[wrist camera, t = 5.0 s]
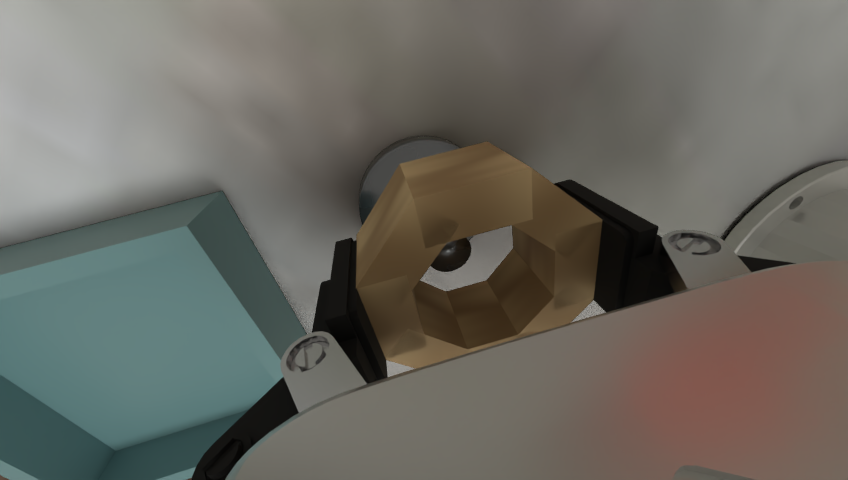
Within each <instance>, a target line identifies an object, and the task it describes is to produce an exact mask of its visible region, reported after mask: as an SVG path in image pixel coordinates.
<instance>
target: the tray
mask: <svg viewBox="0 0 848 480" xmlns="http://www.w3.org/2000/svg"><path fill="white" fill-rule="evenodd" d="M305 335H306V332H305V330H304V329H303V327H302V325H301V324H300V322H299V320H298V319H297V317H296V315H295V313H294V312H293V310H292V308H291V307H290V305H289V303H288V302H287V300H286V298H285V296H284V295H283V293H282V291H281V290H280V288H279V286H278V285H277V283H276V281H275V280H274V278H273V276H272V274H271V273H270V271H269V269H268V268H267V266H266V264H265V263H264V261H263V259H262V258H261V256H260V254H259V252H258V251H257V249H256V247H255V246H254V244H253V242H252V241H251V239H250V237H249V235H248V234H247V232H246V230H245V229H244V227H243V225H242V224H241V222H240V220H239V219H238V217H237V215H236V213H235V212H234V210H233V208H232V207H231V205H230V203H229V202H228V200H227V198H226V196H225V195H224V193H223V191H220V192H216V193H212V194H208V195H204V196H200V197H197V198H193V199H189V200H185V201H181V202H177V203H173V204H170V205H166V206H162V207H158V208H154V209H150V210H146V211H143V212H139V213H135V214H131V215H127V216H123V217H119V218H116V219H112V220H108V221H104V222H100V223H96V224H92V225H89V226H85V227H81V228H77V229H73V230H69V231H65V232H62V233H58V234H54V235H50V236H46V237H42V238H38V239H35V240H31V241H27V242H23V243H19V244H15V245H11V246H8V247H4V248H0V475H1V476H3V477H5V478H8V479H9V480H186V479H189V478H192V475H193V473H194V471H195V468H196V466H197V464H198V462H199V461H200V459H201V458H202V456H203V455H204V453H205V452H206V451H207V450H208V449H209V448H210V447H211V446H212V444H213V443H214V442H215V441H216V440H218V439H219V438H220V437H221V436H222V435H223V434H224V433H225V432H226V431H227V430H228V429H229V428H230V427H231V426H232V425H233V424H234V423H235V422H236V421H237V420H238V419H240V418H241V417H242V416H243V415H244V414H245V413H246V412H247V411H248V410H249V409H250V408H251V407H252V406H253V405H254V404H255V403H256V402H257V401H258V400H259V399H260V398H262V397H263V396H264V395H265V394H266V393H267V392H268V391H269V390H270V389H271V388H272V387H273V386H274V385H275V384H276V383H277V382H278V381H279V380H280V379H281V378H282V377H283V374H282V372H281V367H280V363H281V359H282V356H283V355H284V353H285V351H286V350H287V349H288V348H289V347H290V345H291V344H292V343H294V342H295V341H296V340H298V339H299V338H301V337H303V336H305Z"/></svg>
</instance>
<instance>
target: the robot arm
mask: <svg viewBox="0 0 848 480" xmlns="http://www.w3.org/2000/svg"><path fill="white" fill-rule="evenodd" d="M554 185H556V186H557V187H558V188H560V189H561V190H563V191H564V192H565V193H567V194H568V195H569V196H571V197H572V198H573V199H575V200H576V201H578V202H579V203H580V204H582V205H583V206H584V207H586V208H587V209H589V210H590V211H591V212H593V213H594V214H595V215H597V216H598V217H599V218H601V219H602V228H601V237H600V246H599V255H598V264H597V273H596V281H595V290H594V299H593V300H594V301H595V302H596V303H597V304H598V305H599V306H600V307H601V308H602V309H603V310H604V311H605V312H606V313H603V314H599V315H596V316H593V317H589V318H586V319H582V320H579V321H575V322H572V323H568V324H565V325H562V326H558V327H555V328H551V329H548V330H544V331H541V332H538V333H534V334H531V335H527V336H524V337H521V338H517V339H514V340H510V341H507V342H504V343H500V344H497V345H494V346H490V347H487V348H483V349H480V350H477V351H473V352H470V353H467V354H463V355H460V356H457V357H453V358H450V359H447V360H443V361H440V362H436V363H433V364H430V365H426V366H423V367H420V368H417V369H413V370H410V371H407V372H403V373H400V374H397V375H394V376H390V377H387V365H386V358H385V356H384V353H383V351H382V349H381V346H380V344H379V341H378V339H377V337H376V334H375V332H374V329H373V327H372V324H371V322H370V320H369V317H368V315H367V312H366V310H365V307H364V305H363V303H362V300H361V298H360V295H359V293H358V290H357V288H356V257H357V241H353V239H352V238H349V239H345V240H341V241H338V242H336V244H335V251H334V258H333V265H332V272H331V279H330V280H328V281H324V282H322V283H321V286H320V291H319V296H318V302H317V307H316V313H315V318H314V324H313V329H312V333H309V334H306V335H305V336H303V337H301V338H299V339H298V340H296V341H295V342H294V343H292V344H291V345H290V347H289V348H288V349H287V350H286V351H285V353H284V355H283V356H282V359H281V363H280V367H281V372H282V374H283V377H282V378H281V379H280V380H279V381H278V382H277V383H276V384H275V385H274V386H273V387H272V388H271V389H270V390H269V391H268V392H267V393H266V394H265V395H264V396H263V397H262V398H260V399H259V400H258V401H257V402H256V403H255V404H254V405H253V406H252V407H251V408H250V409H249V410H248V411H247V412H246V413H245V414H244V415H243V416H242V417H241V418H240V419H238V420H237V421H236V422H235V423H234V424H233V425H232V426H231V427H230V428H229V429H228V430H227V431H226V432H225V433H224V434H223V435H222V436H221V437H220V438H219V439H218V440H216V441H215V442H214V443H213V444H212V446H211V447H210V448H209V449H208V450H207V451H206V452H205V453H204V455H203V456H202V458H201V459H200V461H199V462H198V464H197V466H196V468H195V471H194V473H193V475H192V480H848V160H845V161H836V162H832V163H829V164H825V165H822V166H819V167H816V168H814V169H812V170H810V171H807V172H805V173H803V174H801V175H799V176H797V177H795V178H794V179H792V180H790V181H789V182H787V183H785V184H784V185H782V186H780V187H779V188H778V189H776V190H775V191H774V192H772V193H771V194H770V195H768V196H767V197H766V198H764V199H763V200H762V201H761V202H760V203H759V204H757V205H756V206H755V207H754V208H753V209H752V210H751V211H750V212H749V213H747V214H746V215H745V216H744V218H743V219H742V220H741V221H740V222H739V223H738V224H737V225H736V226H735V227H734V228H733V229H732V231H731V232H730V233H729V235H728V236H727V237H726V239H725V240H724V241H723V240H722V239H721V238H719V237H717V236H715V235H712V234H709V233H706V232H701V231H695V230H676V231H672V232H668V233H667V234H665V235H663V237H660V236H659V235H657V231H658V226H656V225H654V224H652V223H650V222H648V221H647V220H645V219H643V218H641V217H639V216H637V215H636V214H634V213H632V212H630V211H628V210H626V209H624V208H623V207H621V206H619V205H617V204H615V203H613V202H612V201H610V200H608V199H606V198H604V197H602V196H600V195H599V194H597V193H595V192H593V191H591V190H589V189H588V188H586V187H584V186H582V185H580V184H578V183H577V182H575V181H573V180H566V181H562V182H558V183H555V184H554Z"/></svg>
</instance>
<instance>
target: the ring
mask: <svg viewBox="0 0 848 480" xmlns="http://www.w3.org/2000/svg"><path fill="white" fill-rule="evenodd" d="M510 225H512V235H513V249H512V250H511V251H510V253H509V254H508V255H507V256H506V258H505V259H504V260H503V261H502V262H501V264H500V265H499V266H498V267H497V268H496V270H495V271H494V272H493V273H492V274H491V276H490V277H489V278H488V279H487V280H486V281H483V282H479V283H475V284H472V285H468V286H465V287H461V288H458V289H454V290H450V291H447V292H446V291H443V290H441V289H439V288H436V287H434V286H432V285H429V284H427V283H424V282H422V281H420V279H421V278H422V276H423V275H424V274H425V272H426V271H427V269H428V268H429V267H430V265H431V264H432V263H433V261H434V260H435V258H436V257H437V256H438V254H439V253H440V252H441V250H442V249H443V248H444V246H445V245H446V243H447V242H451V241H455V240H458V239H462V238H466V237H469V236H473V235H477V234H480V233H484V232H488V231H491V230H495V229H499V228H503V227H506V226H510ZM601 228H602V219H601V218H599V217H598V216H597V215H595V214H594V213H593V212H591V211H590V210H589V209H587V208H586V207H584V206H583V205H582V204H580V203H579V202H578V201H576V200H575V199H573V198H572V197H571V196H569V195H568V194H567V193H565V192H564V191H563V190H561V189H560V188H558V187H557V186H556V185H554V184H553V183H552V182H550V181H549V180H547V179H546V178H545V177H543V176H542V175H541V174H539V173H538V172H536V171H535V170H534V169H532V168H531V167H529V166H528V165H526V164H524V163H522V162H521V161H519V160H517V159H516V158H514V157H512V156H511V155H509V154H507V153H506V152H504V151H502V150H501V149H499V148H497V147H496V146H494V145H492V144H491V143H489V142H483V143H479V144H475V145H471V146H467V147H463V148H459V149H456V150H452V151H448V152H444V153H440V154H436V155H432V156H428V157H424V158H421V159H417V160H413V161H409V162H405V163H401V164H399V166H398V167H397V169H396V171H395V172H394V174H393V176H392V177H391V179H390V181H389V182H388V184H387V186H386V187H385V189H384V191H383V192H382V194H381V196H380V197H379V199H378V201H377V202H376V204H375V206H374V207H373V209H372V211H371V212H370V214H369V216H368V217H367V219H366V221H365V222H364V224H363V226H362V227H361V229H360V231H359V232H358V234H357V237H356V241H357V257H356V288H357V290H358V293H359V295H360V298H361V300H362V303H363V305H364V307H365V310H366V312H367V315H368V317H369V320H370V322H371V324H372V327H373V329H374V332H375V334H376V337H377V339H378V341H379V344H380V346H381V349H382V351H383V353H384V356H385V358H386V360H388V361H392V362H395V363H399V364H402V365H406V366H409V367H413V368H416V369H417V368H420V367H423V366H426V365H430V364H433V363H436V362H440V361H443V360H447V359H450V358H453V357H457V356H460V355H463V354H467V353H470V352H473V351H477V350H480V349H483V348H487V347H490V346H494V345H497V344H500V343H504V342H507V341H510V340H514V339H517V338H521V337H524V336H527V335H531V334H534V333H538V332H541V331H544V330H548V329H551V328H555V327H558V326H562V325H565V324H568V323H571V322H572V321H573V320H574V319H575V318H576V317H577V316H578V315H579V314H580V313H581V312H582V311H583V310H584V309H585V308H586V307H587V306H588V305H589V304H590V303H591V302H592V301H593V299H594V290H595V281H596V273H597V264H598V255H599V246H600V237H601Z"/></svg>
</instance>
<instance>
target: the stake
mask: <svg viewBox="0 0 848 480" xmlns="http://www.w3.org/2000/svg"><path fill="white" fill-rule="evenodd" d="M456 149H459V147H458V146H457V145H455V144H453V143H452V142H450V141H447V140H445V139H442V138H438V137H433V136H415V137H410V138H406V139H403V140H400V141H398V142H396V143H394V144H392V145H390V146H389V147H387V148H386V149H384V150H383V151H382V152H381V153H379V154H378V155H377V156H376V157H375V159H374V160H373V161H372V162H371V164H370V165H369V167H368V168H367V170H366V172H365V174H364V176H363V179H362V182H361V186H360V192H359V209H360V217H361V221H362V225H363V224H364V222H365V221H366V219H367V217H368V216H369V214H370V212H371V211H372V209H373V207H374V206H375V204H376V202H377V201H378V199H379V197H380V196H381V194H382V192H383V191H384V189H385V187H386V186H387V184H388V182H389V181H390V179H391V177H392V176H393V174H394V172H395V171H396V169H397V167H398V166H399V164H401V163H405V162H409V161H413V160H417V159H421V158H424V157H428V156H432V155H436V154H440V153H444V152H448V151H452V150H456ZM472 237H473V236H469V237H466V238H462V239H458V240H455V241H451V242H447V243H446V245H445V246H444V248H443V249H442V250H441V252H440V253H439V254H438V256H437V257H436V258H435V260H434V261H433V263H432V264H431V266H432V267H433V268H434V269H436V270H438V271H442V272H449V271H453V270H456V269H458V268H460V267H461V266H462V265H464V264H465V263H466V261H467V260H468V258H469V256H470V253H471V245H470V242H469V240H470V239H471V238H472Z"/></svg>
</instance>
